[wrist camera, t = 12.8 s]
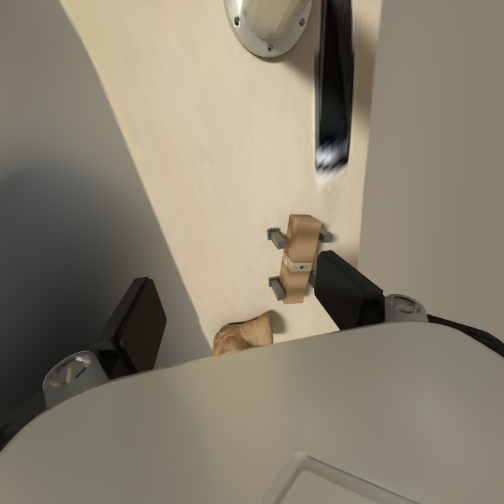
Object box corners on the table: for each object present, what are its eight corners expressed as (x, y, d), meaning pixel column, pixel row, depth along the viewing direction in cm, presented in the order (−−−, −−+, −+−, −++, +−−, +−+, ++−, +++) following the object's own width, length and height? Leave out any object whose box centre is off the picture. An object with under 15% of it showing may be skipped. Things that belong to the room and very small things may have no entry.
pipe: (272, 326, 57) (283, 357, 48) (219, 344, 56) (220, 379, 47) (265, 304, 52) (276, 334, 44) (208, 323, 52) (207, 358, 43)
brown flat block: (308, 249, 47) (309, 251, 47) (315, 248, 47) (316, 249, 47) (307, 257, 48) (308, 258, 47) (315, 256, 48) (316, 257, 48)
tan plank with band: (289, 214, 42) (300, 222, 37) (309, 214, 43) (322, 223, 38) (276, 288, 51) (284, 304, 46) (293, 288, 52) (303, 303, 46)
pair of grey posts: (268, 277, 49) (276, 294, 43) (313, 270, 50) (326, 285, 44) (268, 285, 50) (276, 302, 44) (312, 278, 51) (325, 293, 46)
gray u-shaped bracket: (267, 228, 43) (275, 240, 37) (318, 222, 44) (333, 232, 39) (267, 238, 44) (275, 251, 38) (317, 232, 45) (332, 243, 40)
